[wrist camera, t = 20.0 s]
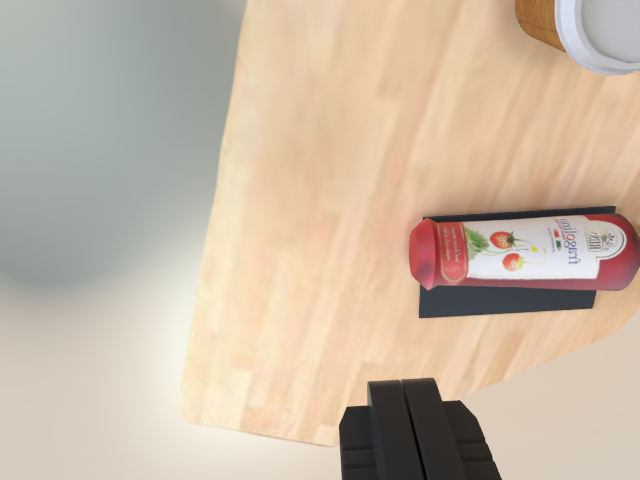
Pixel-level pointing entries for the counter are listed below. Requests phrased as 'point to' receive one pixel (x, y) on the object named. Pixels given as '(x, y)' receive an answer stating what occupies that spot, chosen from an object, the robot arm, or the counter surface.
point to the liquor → (527, 253)
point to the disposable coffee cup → (587, 31)
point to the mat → (504, 298)
